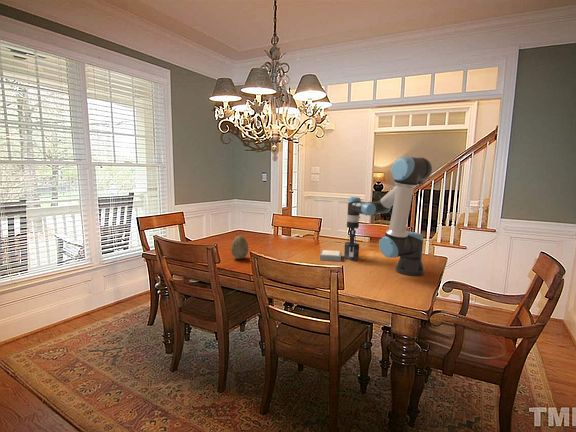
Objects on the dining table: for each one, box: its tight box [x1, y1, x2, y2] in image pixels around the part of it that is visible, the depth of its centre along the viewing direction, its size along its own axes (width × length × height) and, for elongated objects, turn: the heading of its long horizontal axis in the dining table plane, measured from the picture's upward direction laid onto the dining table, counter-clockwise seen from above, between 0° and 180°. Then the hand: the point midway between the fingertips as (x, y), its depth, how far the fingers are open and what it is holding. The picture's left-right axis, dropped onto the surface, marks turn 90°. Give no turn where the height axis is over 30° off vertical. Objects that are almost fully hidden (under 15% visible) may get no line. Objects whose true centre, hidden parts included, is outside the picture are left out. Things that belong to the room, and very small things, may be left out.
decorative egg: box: [230, 235, 249, 260], centre depth 209 cm, size 11×11×15 cm
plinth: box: [319, 249, 342, 262], centre depth 216 cm, size 13×13×3 cm
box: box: [343, 241, 360, 262], centre depth 214 cm, size 8×6×11 cm
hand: (351, 253), depth 215 cm, fingers open, 13 cm apart
